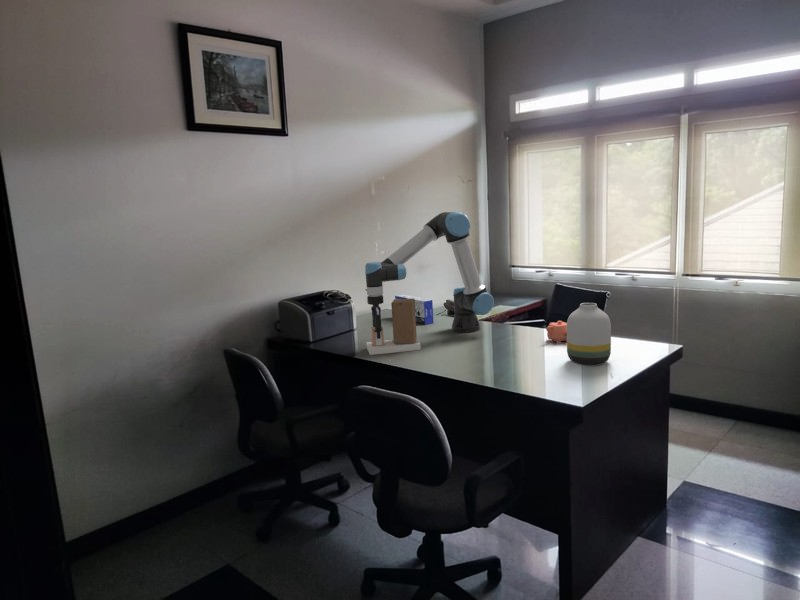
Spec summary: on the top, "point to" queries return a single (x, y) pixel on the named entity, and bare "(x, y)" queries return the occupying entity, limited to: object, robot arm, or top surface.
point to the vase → (588, 335)
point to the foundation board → (391, 347)
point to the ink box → (421, 309)
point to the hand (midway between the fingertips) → (378, 343)
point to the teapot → (557, 331)
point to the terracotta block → (375, 336)
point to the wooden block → (404, 321)
